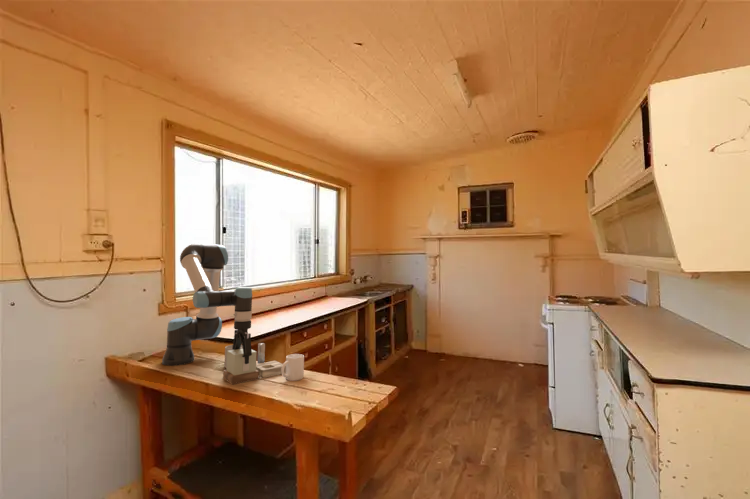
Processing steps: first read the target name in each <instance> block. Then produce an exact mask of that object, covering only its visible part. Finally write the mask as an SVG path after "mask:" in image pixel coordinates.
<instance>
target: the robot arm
mask: <svg viewBox="0 0 750 499" xmlns="http://www.w3.org/2000/svg"><path fill="white" fill-rule="evenodd" d="M179 262H180V265H181V267H182V268H184V269H185V270H186V274H187V276H188V278H189V281H190V283H191V285H192V287H193V290H194V293H193V295H192V302H193V303H192V305H193V306H194V307H195V308H197V309H198V308H199V312H198V313H197V314H196V318H194V319H193V317H191V316H183V317H182V316H181V317H177V318H173V319H171V320H170V321H169V322H168V323H167V328H166V330H167V332H166V334H167V335H166V349H165V352H164V354H163V357H162V360H161V361H162V362H161V364H162V365H164V366H169V367H170V366H172V367H174V366H181V365H186V364H191V363H193V362H195V353H194V351H193V347H192V343H193V342H192V341H198V340H209V339H210V340H211V339H214V338H217V337H218V336H219V335H220V334H221V332H222V329H223V328H222V327H223V320H222V318H221V317H220V315H219V313H218V312H217V310H218V307H219V308H220V307H231V306H232V307H233V306H234V313H233V316H234V322H233V329H234V332H233V333H234V335H233V341H232V345H233V348H232V349H234V350H236V349H240V347H241V345H242V347H243V353H244V355H243V356H242V357H243V369H242V371H248V370H249V356H251V355H252V350H253V349H252V338H251V337H252V335H251V334H252V333H248V330H250V329H251V328H252V320H251V319H252V317H253V316H252V313H253V311H252V310H253V309H252V307H253V306H252V304H253V289H252V287H250V286H237V287H235V289H229V290H219V288H220V287H219V286H220V278H221V271H222V270H224V266H227V264H228V262H229V252H228V250H227V248H226V246H224V245H222V244H218V243H217V244H215V243H214V244H212V243H211V244H210V243H192V244H190V245H187V246H186V247H185V248H183V250H182V252H181V253H180V256H179ZM251 349H252V350H251Z"/></svg>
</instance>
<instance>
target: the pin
mask: <svg viewBox="0 0 750 499" xmlns="http://www.w3.org/2000/svg"><path fill="white" fill-rule="evenodd" d="M265 352H266V343H264V342H259V343H257V364H260V363H265V357H266V356H265V354H266V353H265Z"/></svg>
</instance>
